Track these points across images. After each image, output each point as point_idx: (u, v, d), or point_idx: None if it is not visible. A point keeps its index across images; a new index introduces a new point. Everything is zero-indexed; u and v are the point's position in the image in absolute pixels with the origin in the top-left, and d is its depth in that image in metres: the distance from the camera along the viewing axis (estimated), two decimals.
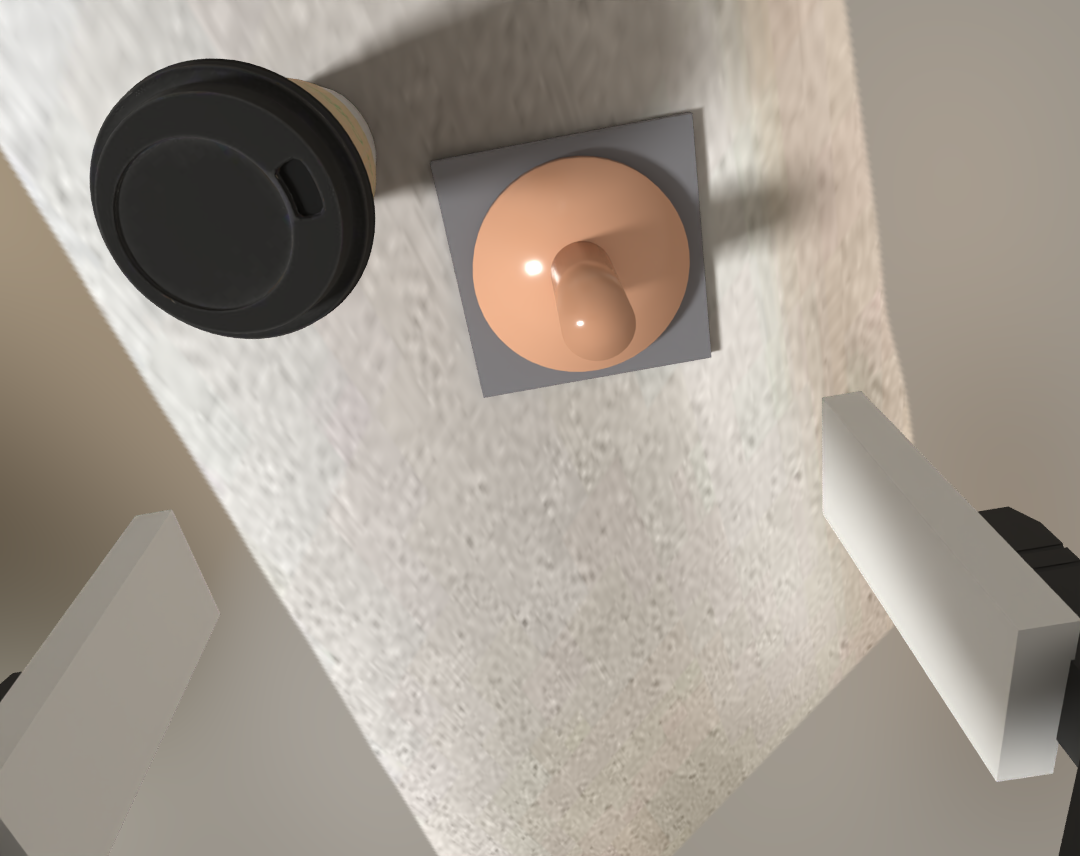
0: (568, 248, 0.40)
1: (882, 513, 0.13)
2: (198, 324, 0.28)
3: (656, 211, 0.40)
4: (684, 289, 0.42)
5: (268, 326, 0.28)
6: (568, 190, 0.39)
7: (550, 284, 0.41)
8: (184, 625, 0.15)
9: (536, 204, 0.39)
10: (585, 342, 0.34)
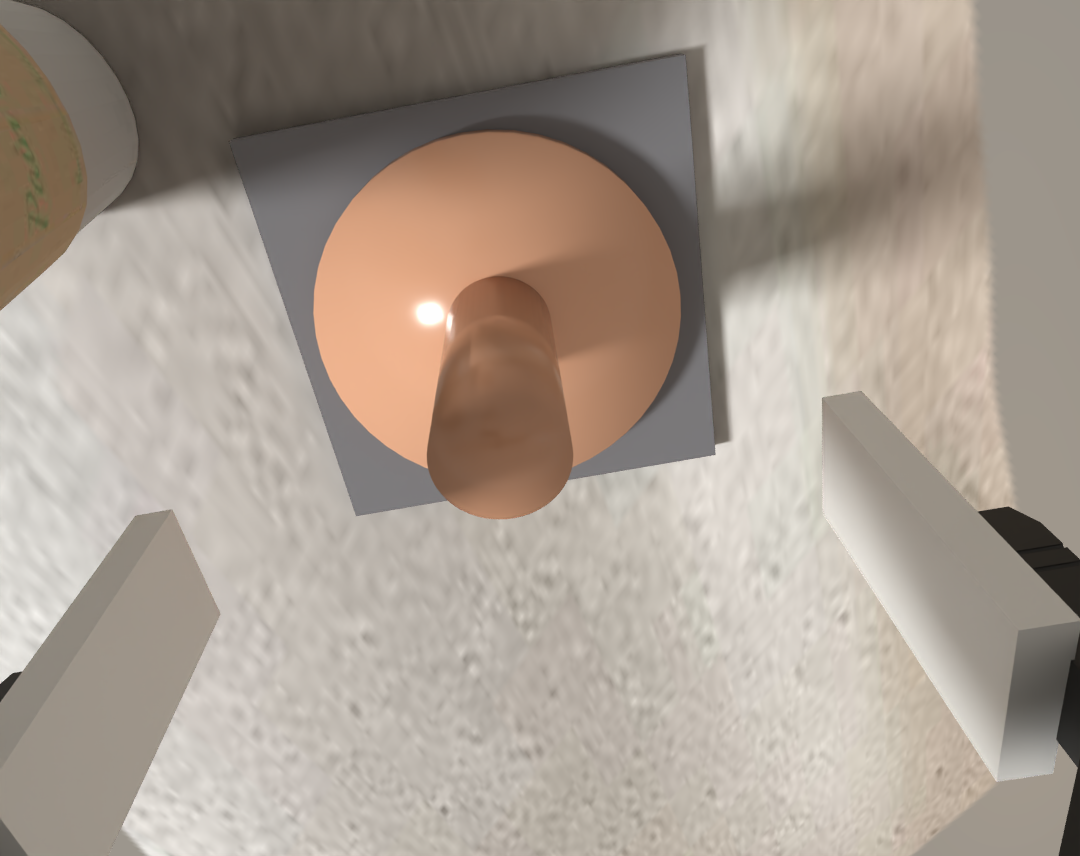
0: (472, 289, 0.23)
1: (882, 513, 0.13)
2: None
3: (623, 227, 0.23)
4: (672, 354, 0.25)
5: None
6: (470, 189, 0.22)
7: None
8: (184, 625, 0.15)
9: (415, 214, 0.23)
10: (477, 488, 0.18)
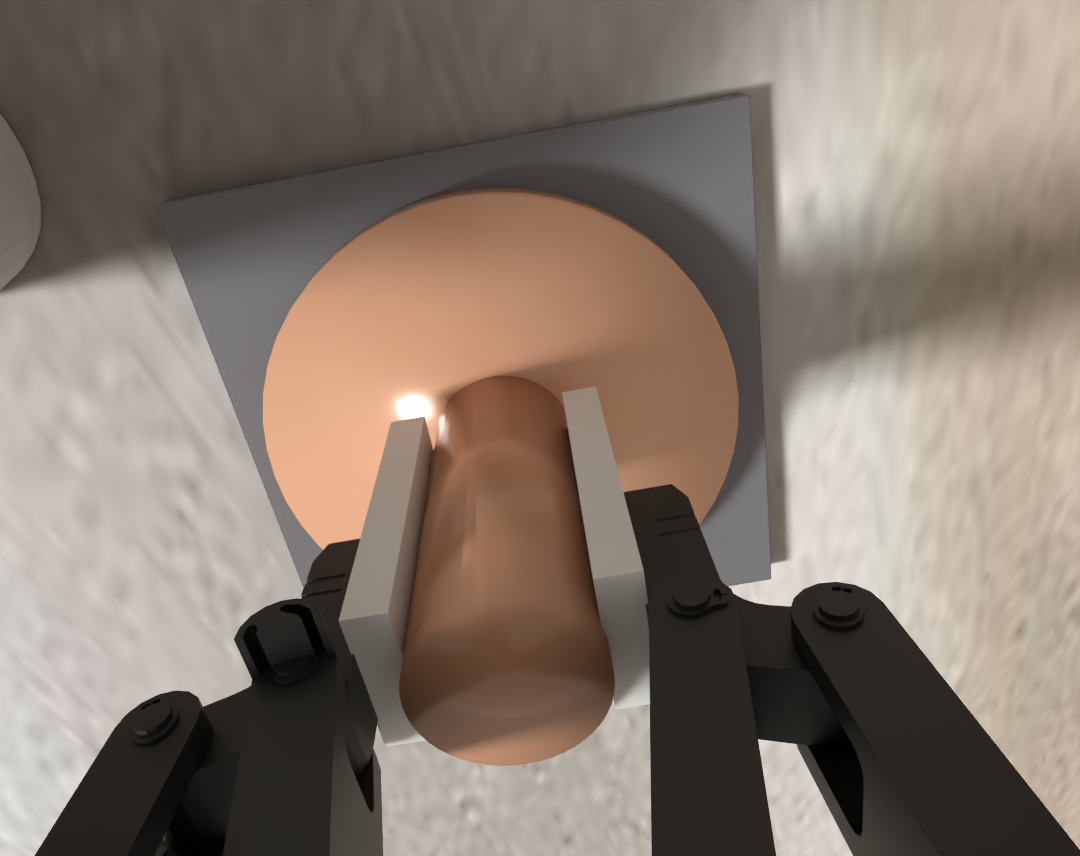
0: (469, 395, 0.18)
1: None
2: None
3: (667, 314, 0.18)
4: (725, 470, 0.20)
5: None
6: (467, 267, 0.17)
7: None
8: None
9: (394, 298, 0.17)
10: (473, 728, 0.12)
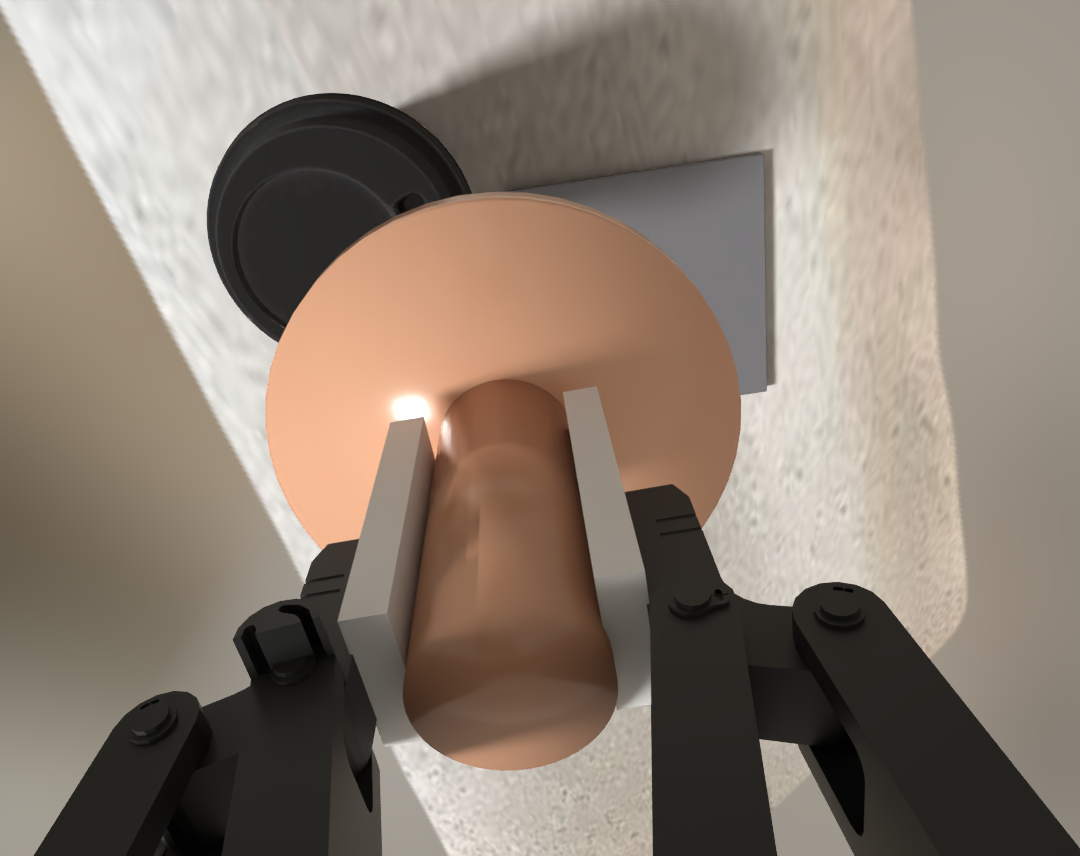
0: (472, 399, 0.18)
1: None
2: None
3: (670, 318, 0.18)
4: (727, 473, 0.20)
5: None
6: (469, 271, 0.17)
7: None
8: None
9: (397, 302, 0.17)
10: (477, 733, 0.12)
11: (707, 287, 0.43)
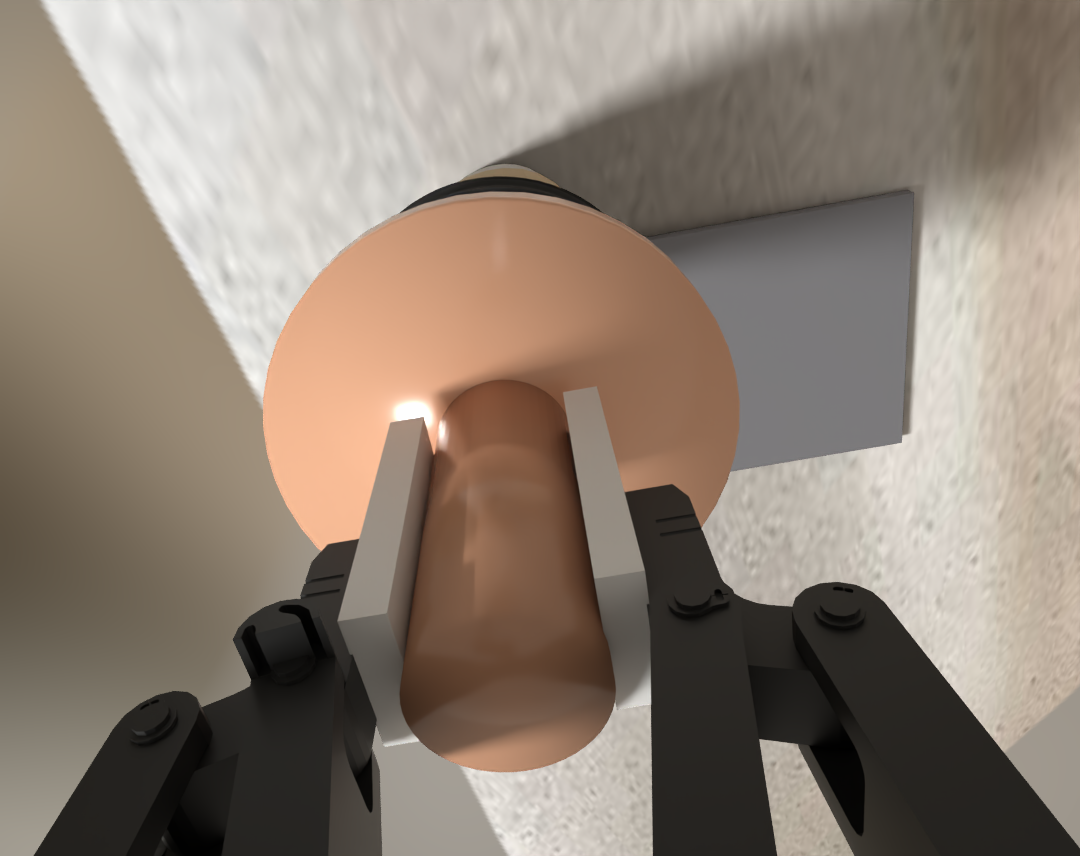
0: (470, 400, 0.18)
1: None
2: None
3: (668, 318, 0.18)
4: (726, 474, 0.20)
5: None
6: (467, 271, 0.17)
7: None
8: None
9: (395, 302, 0.17)
10: (474, 734, 0.12)
11: (844, 336, 0.39)
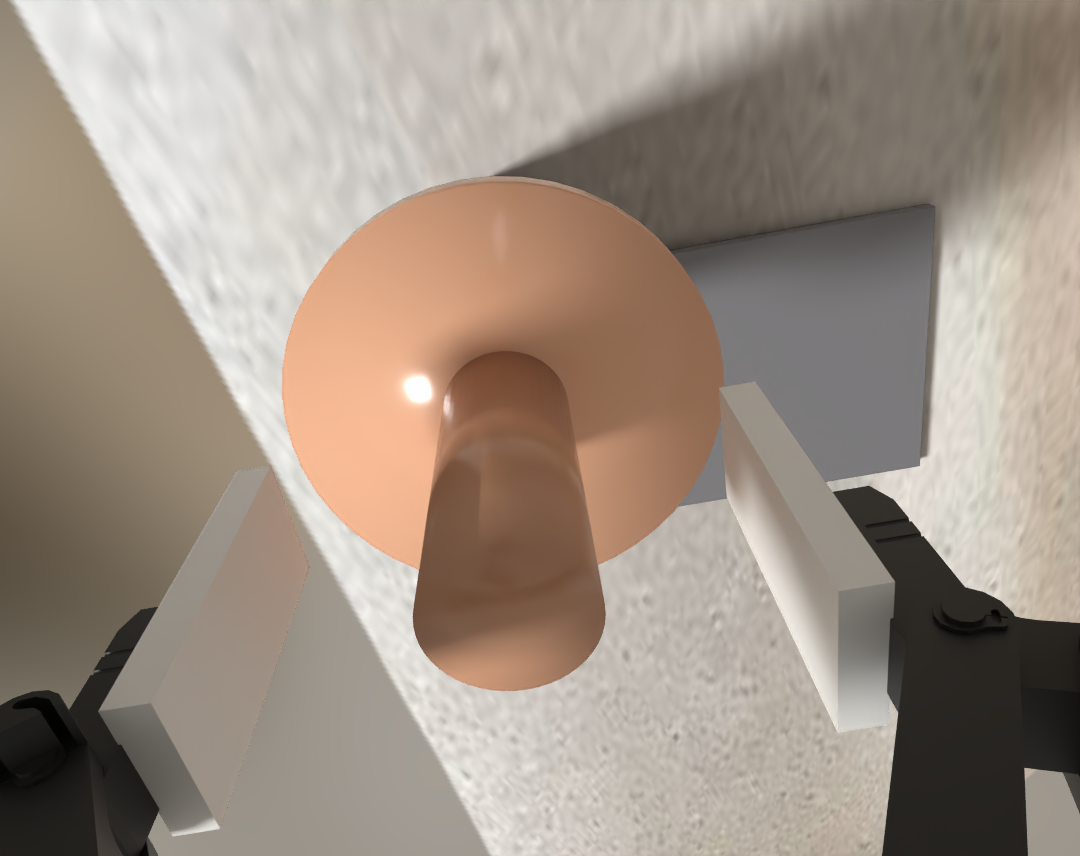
0: (474, 369, 0.19)
1: (759, 492, 0.14)
2: None
3: (656, 293, 0.19)
4: (712, 440, 0.21)
5: None
6: (471, 249, 0.18)
7: None
8: (284, 573, 0.16)
9: (404, 278, 0.19)
10: (479, 655, 0.14)
11: (860, 356, 0.37)
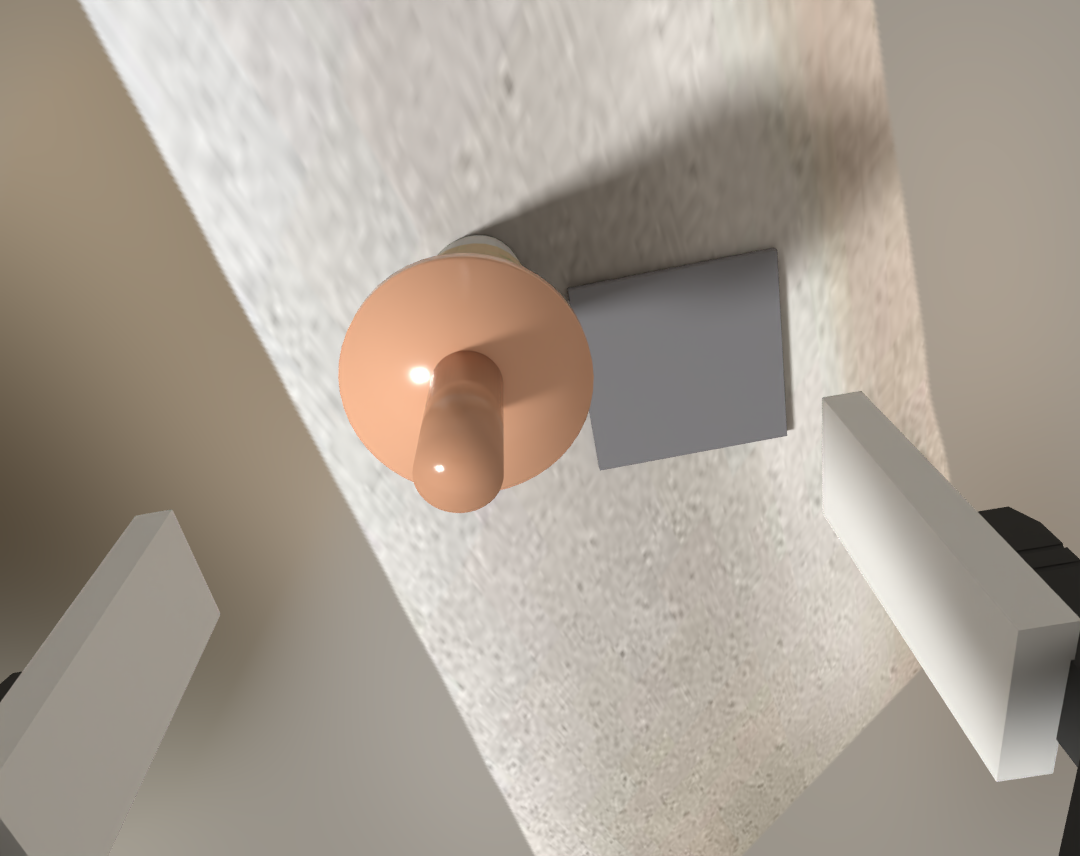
0: (447, 360, 0.34)
1: (882, 513, 0.13)
2: None
3: (549, 316, 0.34)
4: (589, 401, 0.36)
5: None
6: (444, 294, 0.33)
7: None
8: (184, 625, 0.15)
9: (407, 310, 0.34)
10: (444, 493, 0.28)
11: (735, 355, 0.52)
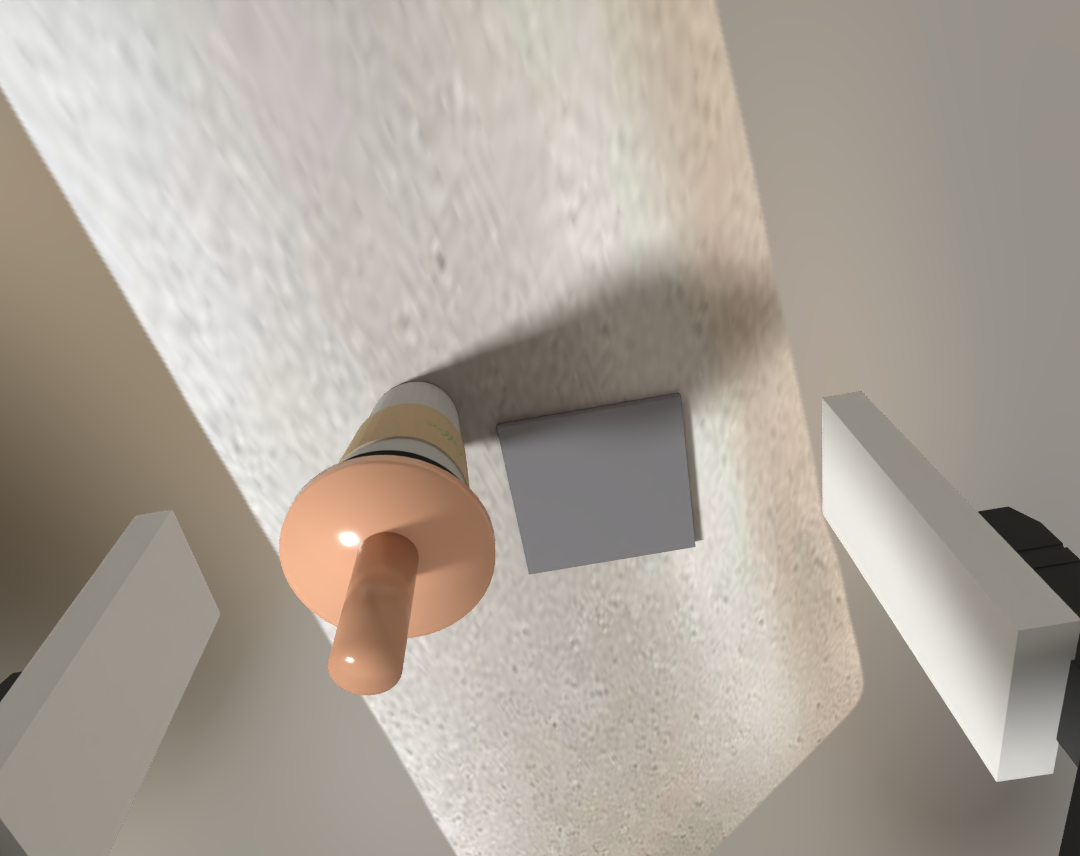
0: (369, 542, 0.41)
1: (882, 513, 0.13)
2: None
3: (455, 507, 0.41)
4: (492, 570, 0.42)
5: None
6: (366, 490, 0.40)
7: None
8: (184, 625, 0.15)
9: (336, 502, 0.40)
10: (354, 681, 0.35)
11: (646, 481, 0.58)
